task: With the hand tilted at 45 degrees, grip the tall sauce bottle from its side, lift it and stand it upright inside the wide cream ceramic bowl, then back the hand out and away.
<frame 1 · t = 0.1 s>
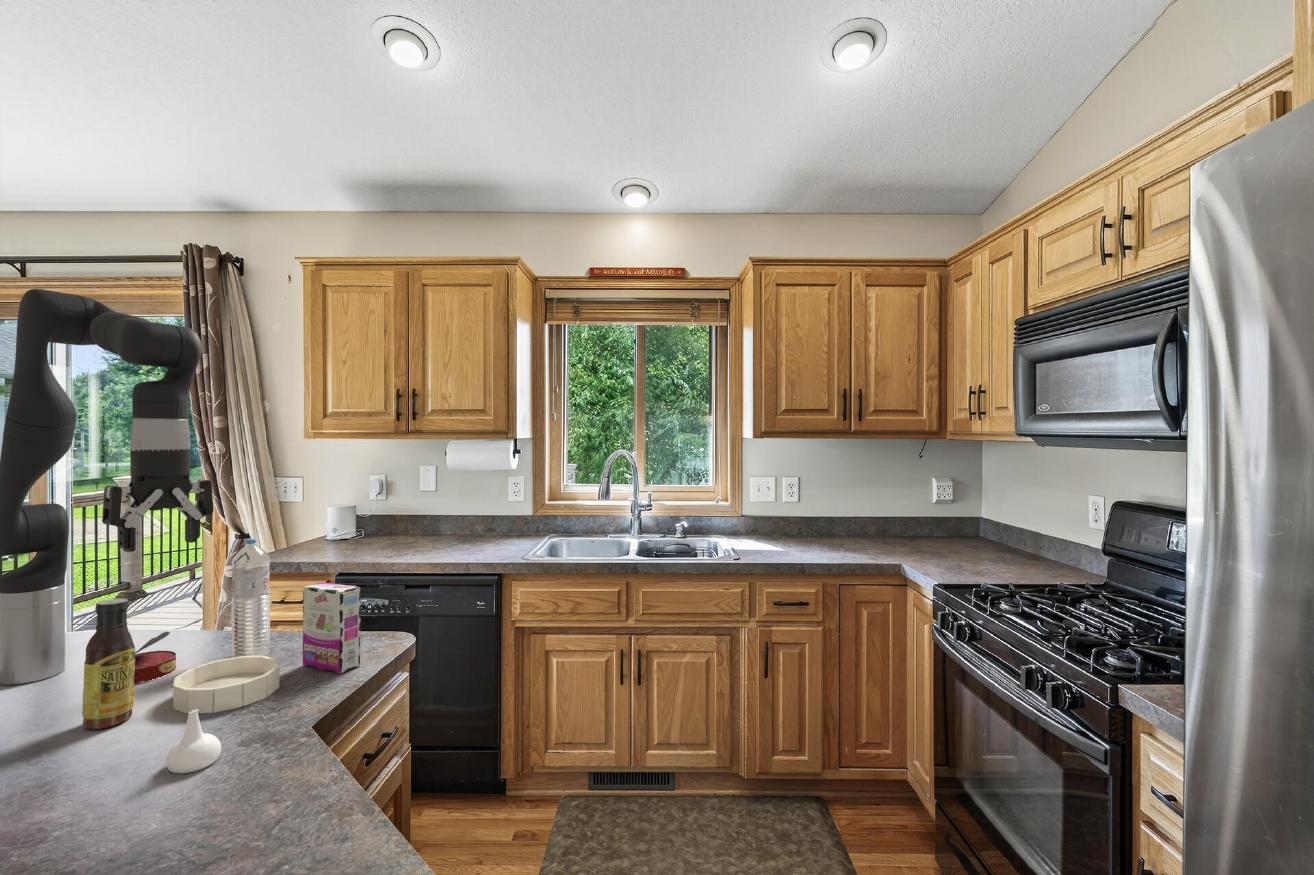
hand: (161, 546, 98), 29 cm above the counter, tool pointing down, fingers open, 8 cm apart
water bottle: (250, 657, 129), on the counter
garlic bulb: (194, 765, 88), on the counter
sauce bottle: (109, 723, 99), on the counter
canned food: (143, 676, 119), on the counter
candy bar box: (331, 667, 124), on the counter
bowl: (228, 693, 110), on the counter
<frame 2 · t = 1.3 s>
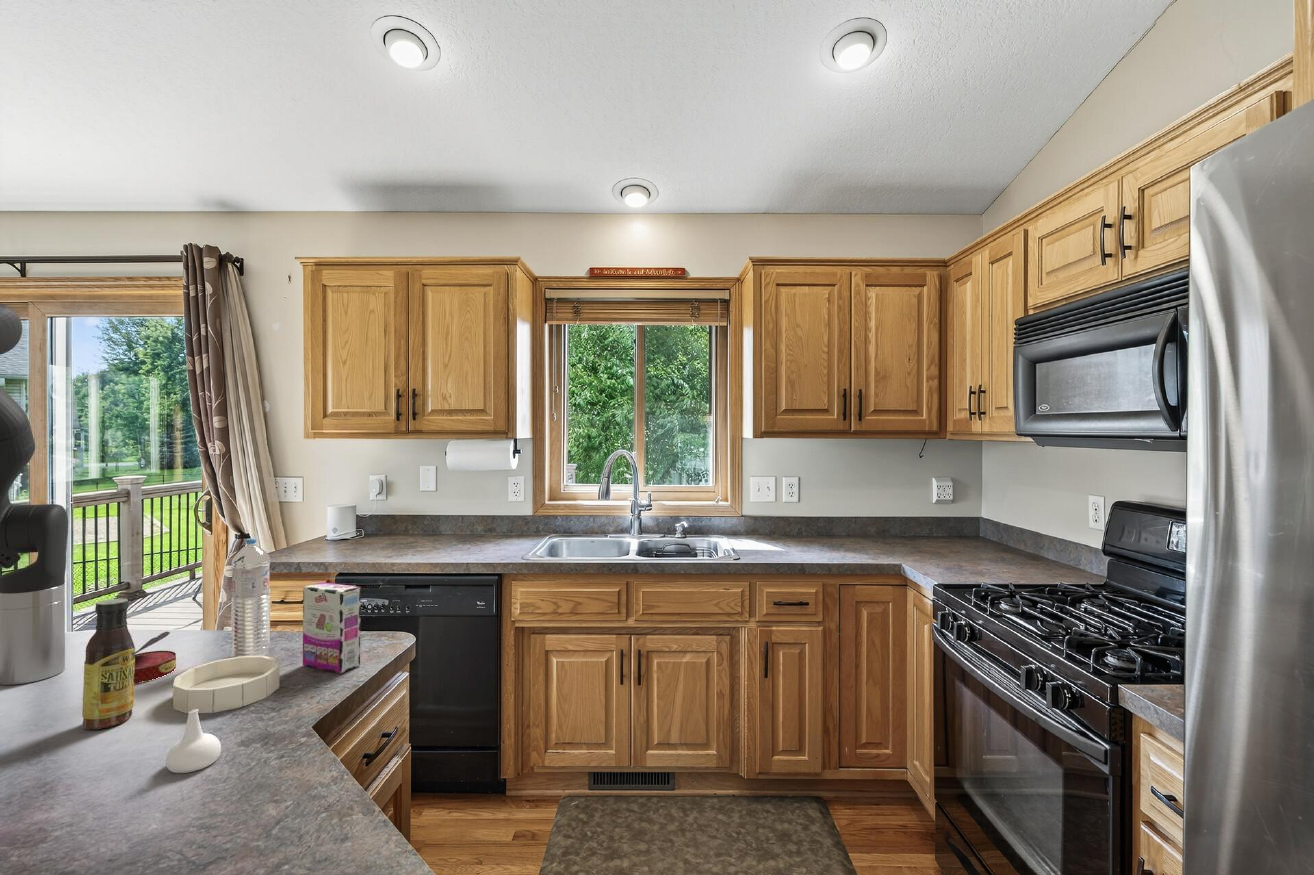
hand: (1, 560, 90), 28 cm above the counter, tool tilted 45°, fingers open, 8 cm apart
nothing on the counter moved.
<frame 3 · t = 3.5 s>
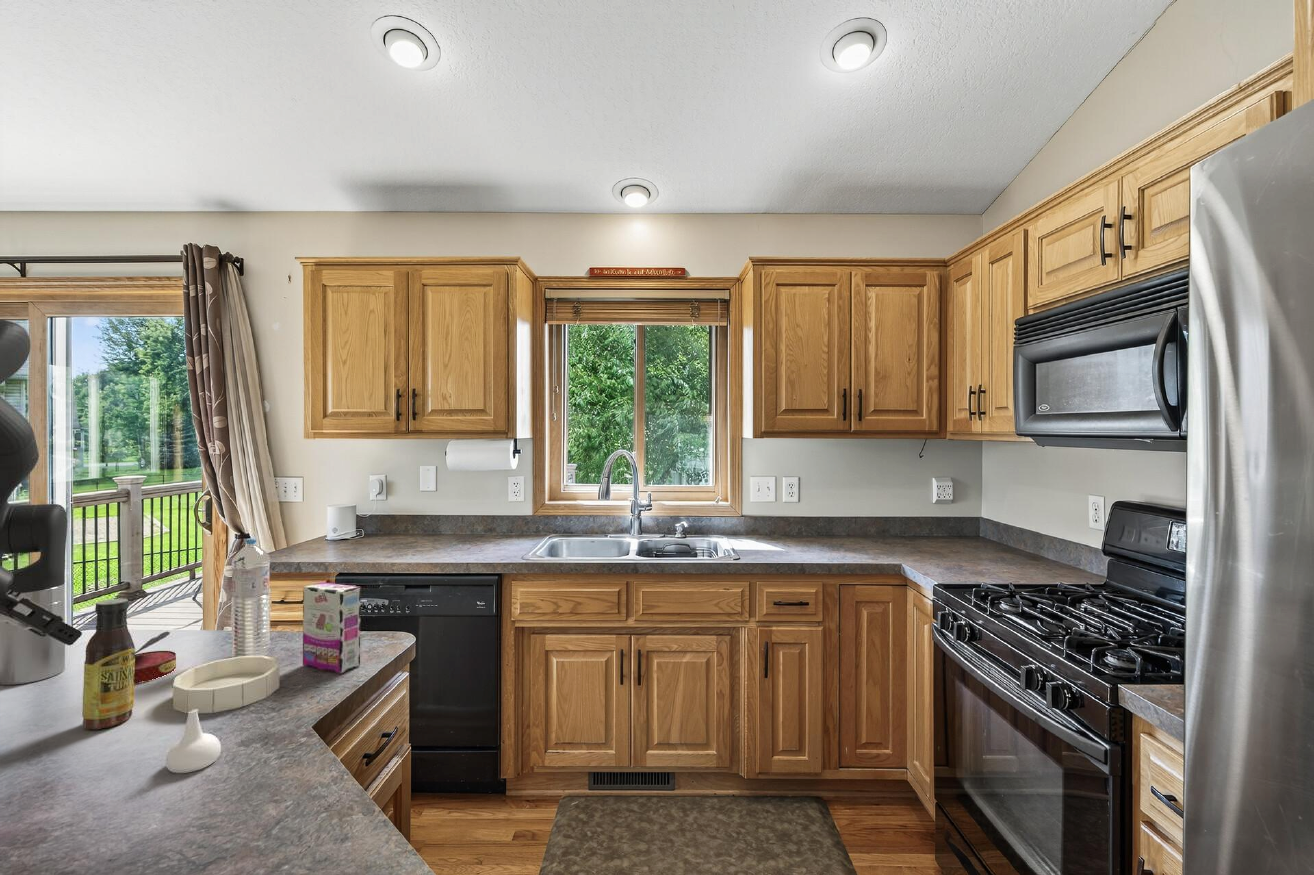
hand: (62, 635, 94), 16 cm above the counter, tool tilted 45°, fingers open, 8 cm apart
nothing on the counter moved.
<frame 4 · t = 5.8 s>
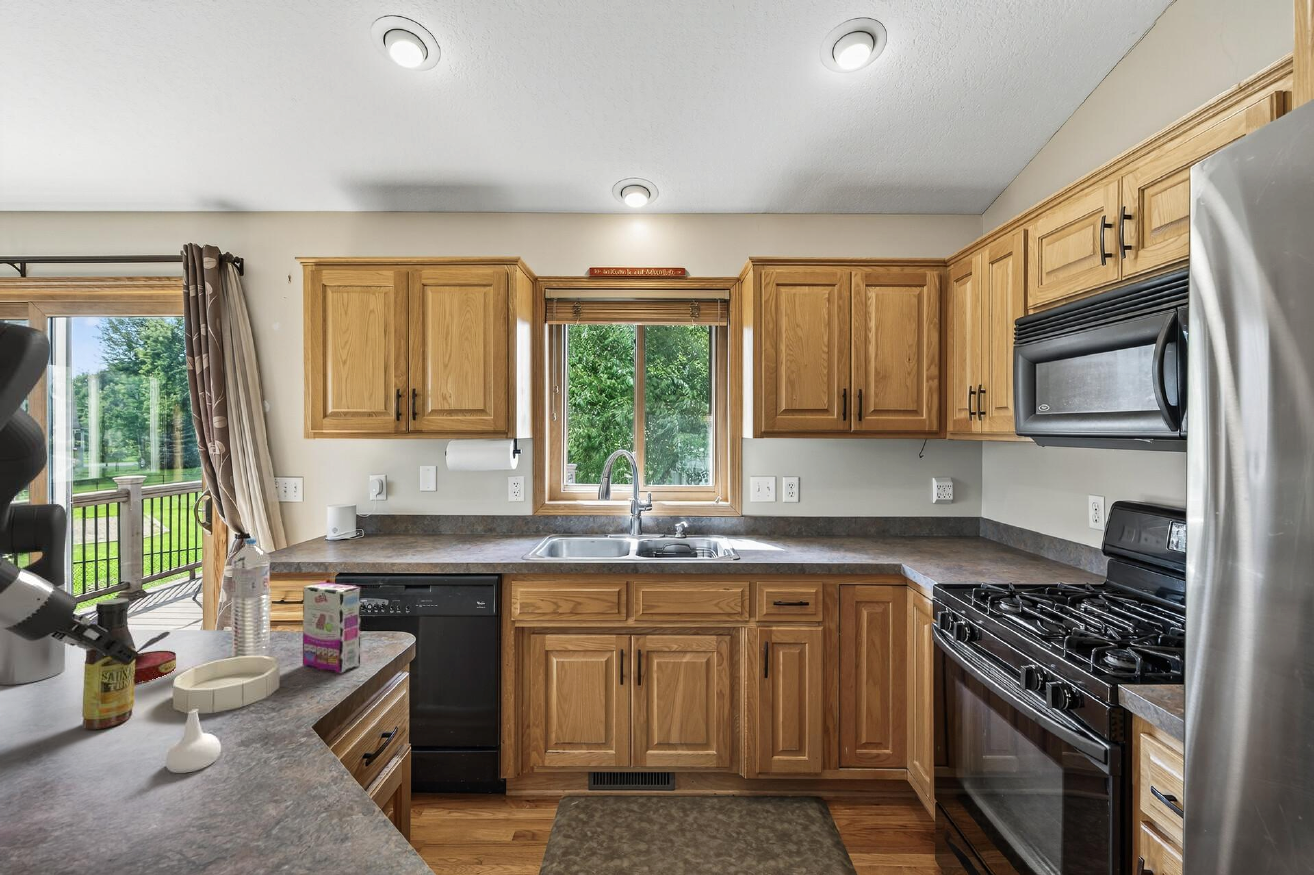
hand: (121, 655, 101), 10 cm above the counter, tool tilted 45°, fingers closed on sauce bottle, 6 cm apart
sauce bottle: (109, 723, 99), on the counter, touching gripper
everything else where it was.
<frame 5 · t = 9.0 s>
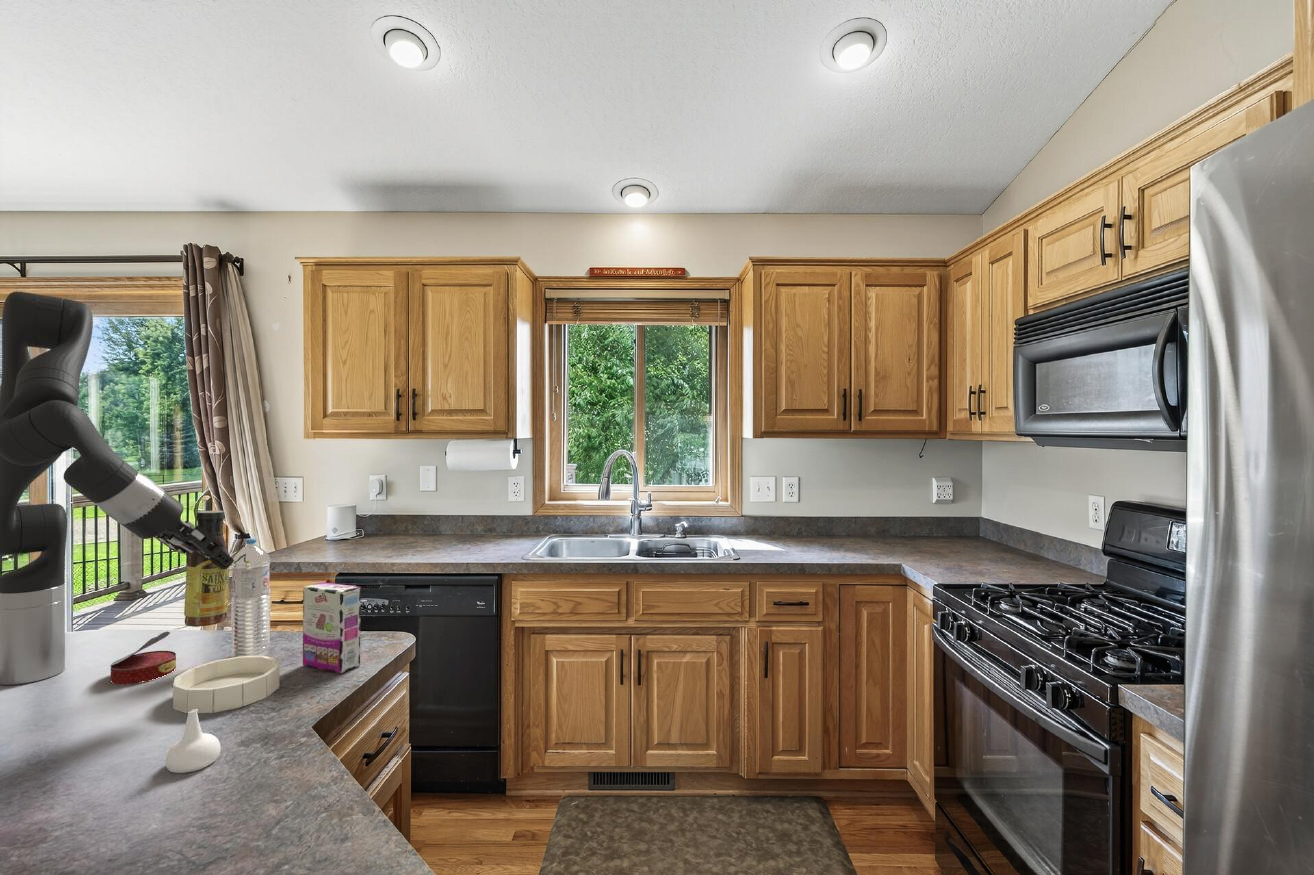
hand: (217, 563, 109), 24 cm above the counter, tool tilted 45°, fingers closed on sauce bottle, 6 cm apart
sauce bottle: (206, 623, 108), point 14 cm above the counter, touching gripper
everything else where it was.
when the fingers open (13 cm above the counter, at t = 12.7 s): sauce bottle drops 1 cm, resting on bowl.
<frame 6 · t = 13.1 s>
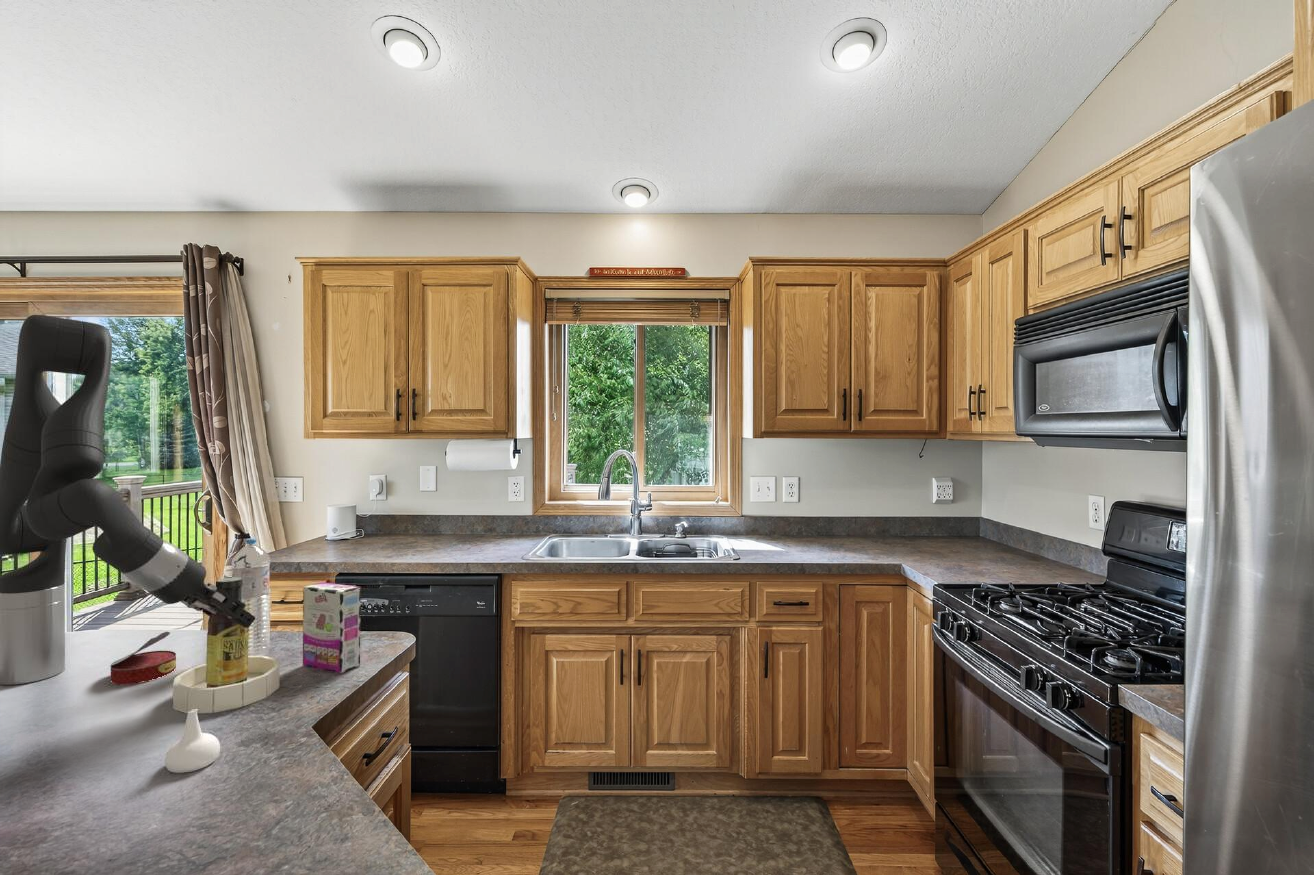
hand: (236, 619, 112), 13 cm above the counter, tool tilted 45°, fingers open, 8 cm apart
sauce bottle: (227, 689, 110), point 1 cm above the counter, touching bowl
everything else where it was.
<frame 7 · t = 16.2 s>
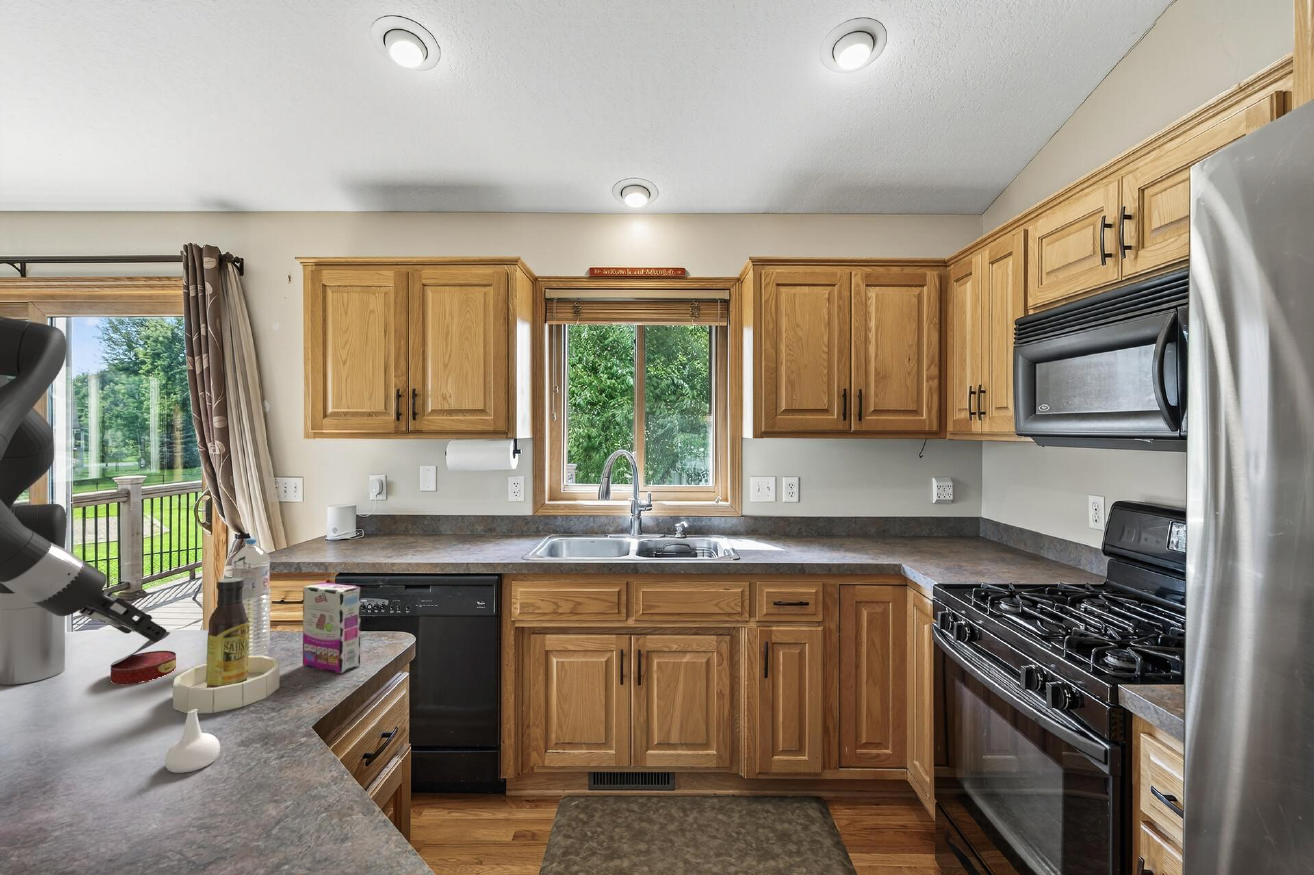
hand: (146, 632, 100), 15 cm above the counter, tool tilted 45°, fingers open, 8 cm apart
nothing on the counter moved.
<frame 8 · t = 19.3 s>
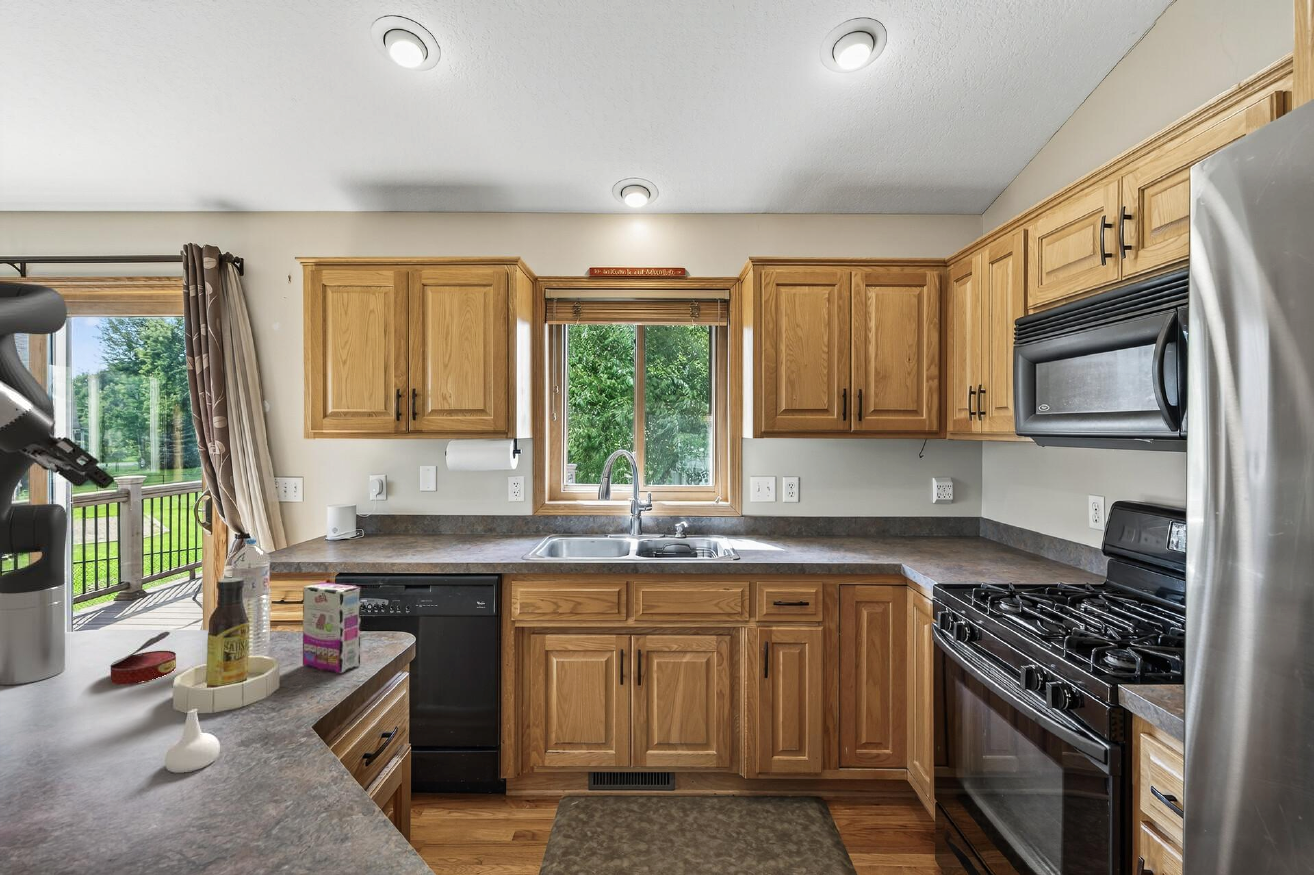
hand: (96, 483, 105), 39 cm above the counter, tool tilted 45°, fingers open, 8 cm apart
nothing on the counter moved.
at the end: sauce bottle inside the target area on the bowl (0.4 cm from its centre), point 0.8 cm above the bowl's base; sauce bottle tilted 0°; the gripper is holding nothing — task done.
